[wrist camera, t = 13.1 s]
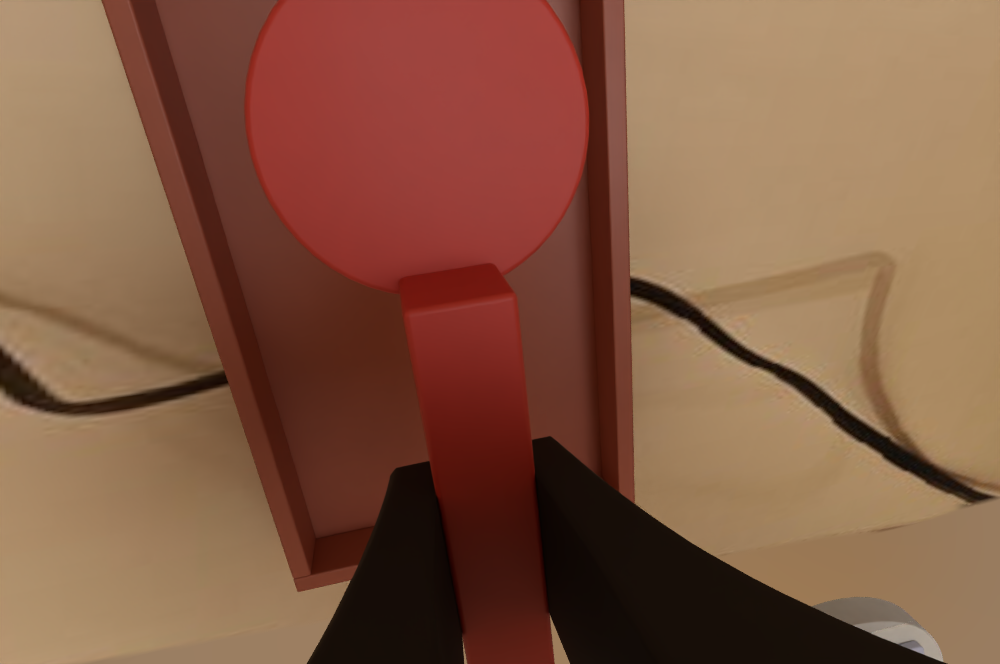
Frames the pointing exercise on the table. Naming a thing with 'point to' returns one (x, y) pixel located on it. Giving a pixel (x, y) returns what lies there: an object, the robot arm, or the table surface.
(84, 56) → the table surface
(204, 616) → the table surface
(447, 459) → the red spoon
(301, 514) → the red tray
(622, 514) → the robot arm
